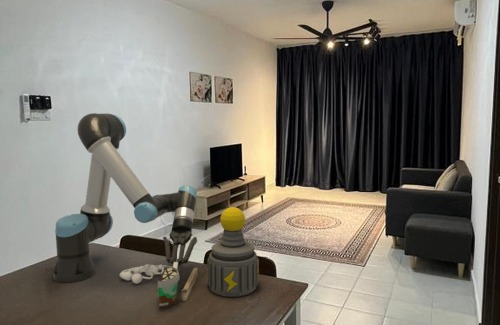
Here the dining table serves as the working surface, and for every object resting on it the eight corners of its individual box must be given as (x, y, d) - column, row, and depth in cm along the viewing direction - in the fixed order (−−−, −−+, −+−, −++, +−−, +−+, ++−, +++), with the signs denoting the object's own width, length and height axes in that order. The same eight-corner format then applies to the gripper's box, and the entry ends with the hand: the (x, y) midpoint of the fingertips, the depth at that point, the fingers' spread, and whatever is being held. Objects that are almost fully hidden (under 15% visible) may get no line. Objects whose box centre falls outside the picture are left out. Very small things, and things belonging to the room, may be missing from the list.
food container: (177, 310, 126) (176, 281, 124) (158, 310, 125) (157, 282, 124) (182, 291, 138) (182, 264, 136) (165, 291, 137) (164, 264, 136)
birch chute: (156, 300, 132) (156, 290, 132) (172, 274, 154) (172, 266, 154) (186, 300, 132) (186, 290, 132) (198, 275, 154) (197, 266, 153)
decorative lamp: (203, 298, 134) (202, 213, 131) (211, 276, 153) (210, 201, 150) (258, 298, 134) (258, 213, 130) (258, 277, 152) (258, 202, 149)
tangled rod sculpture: (152, 266, 167) (151, 257, 167) (176, 271, 159) (175, 261, 159) (113, 280, 151) (113, 270, 151) (138, 286, 143) (137, 275, 142)
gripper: (201, 227, 152) (193, 285, 137) (168, 226, 153) (157, 285, 138) (198, 217, 146) (190, 277, 131) (164, 216, 147) (152, 276, 132)
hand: (173, 281), depth 135 cm, fingers closed
